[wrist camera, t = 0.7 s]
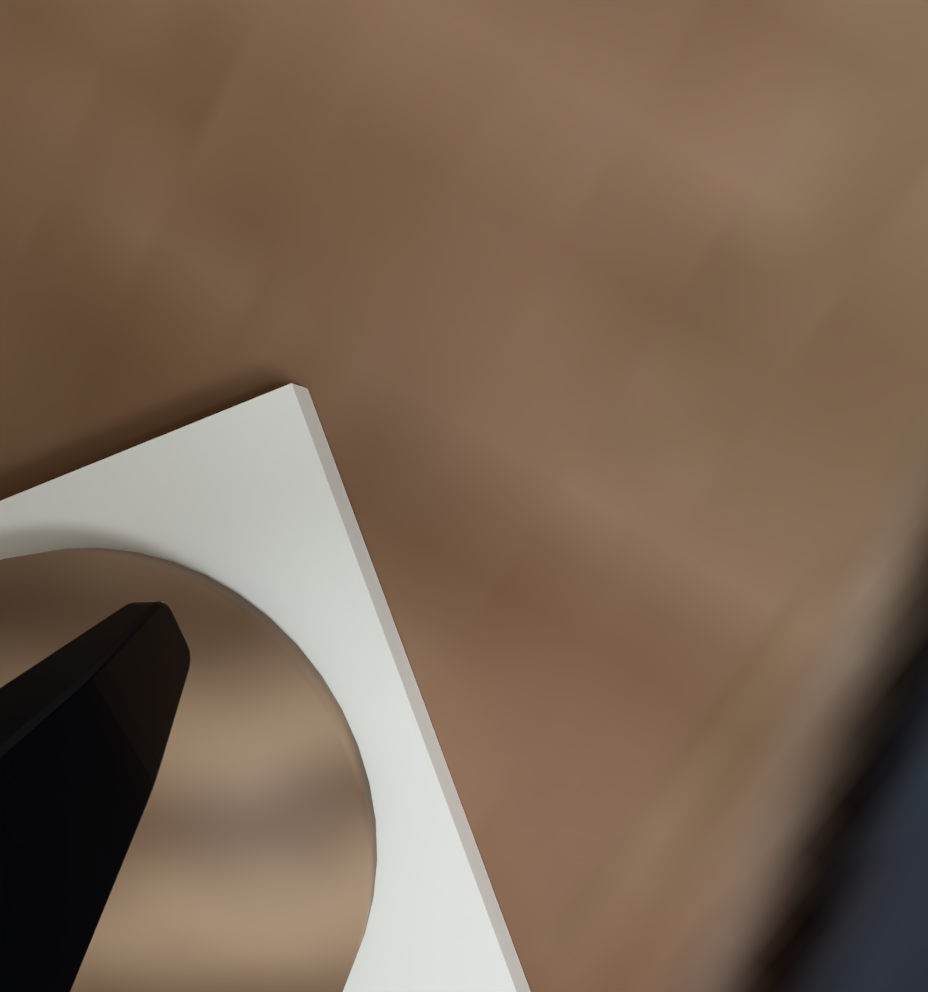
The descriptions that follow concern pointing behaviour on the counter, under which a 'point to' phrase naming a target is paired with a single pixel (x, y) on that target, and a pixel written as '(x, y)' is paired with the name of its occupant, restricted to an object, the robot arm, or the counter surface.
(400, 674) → the base
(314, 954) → the dial
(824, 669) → the counter surface
